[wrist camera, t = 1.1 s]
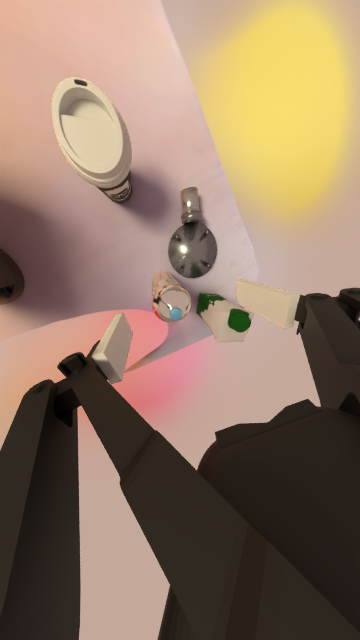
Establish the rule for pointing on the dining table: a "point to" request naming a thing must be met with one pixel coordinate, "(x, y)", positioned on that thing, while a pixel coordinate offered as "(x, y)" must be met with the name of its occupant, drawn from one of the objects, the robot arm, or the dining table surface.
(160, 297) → the water bottle
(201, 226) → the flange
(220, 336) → the milk carton
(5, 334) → the dining table surface
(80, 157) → the coffee cup
